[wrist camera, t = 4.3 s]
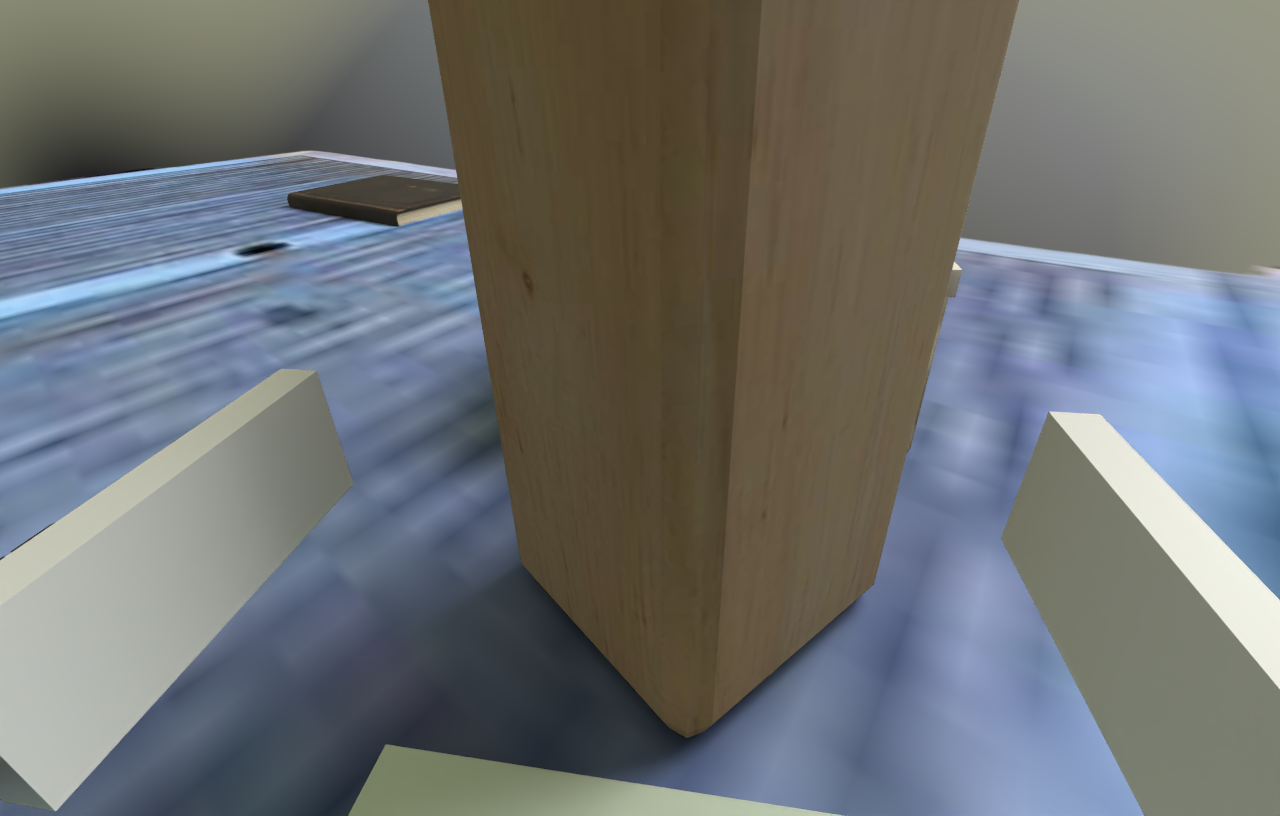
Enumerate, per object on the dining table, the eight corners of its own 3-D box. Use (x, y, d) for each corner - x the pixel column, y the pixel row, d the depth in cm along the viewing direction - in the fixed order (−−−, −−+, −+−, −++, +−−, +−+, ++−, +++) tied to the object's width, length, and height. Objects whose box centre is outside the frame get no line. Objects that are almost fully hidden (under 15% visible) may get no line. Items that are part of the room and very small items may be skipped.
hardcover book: (387, 190, 95) (384, 175, 94) (493, 205, 84) (491, 188, 83) (290, 211, 83) (285, 193, 82) (398, 231, 72) (394, 211, 71)
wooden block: (511, 567, 24) (397, -82, 13) (696, 468, 29) (713, -50, 19) (685, 767, 17) (717, -231, 7) (884, 590, 22) (1068, -114, 12)
